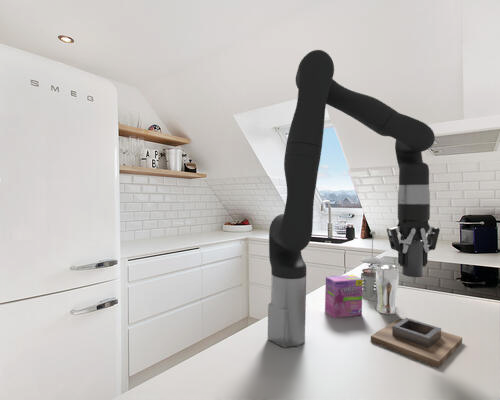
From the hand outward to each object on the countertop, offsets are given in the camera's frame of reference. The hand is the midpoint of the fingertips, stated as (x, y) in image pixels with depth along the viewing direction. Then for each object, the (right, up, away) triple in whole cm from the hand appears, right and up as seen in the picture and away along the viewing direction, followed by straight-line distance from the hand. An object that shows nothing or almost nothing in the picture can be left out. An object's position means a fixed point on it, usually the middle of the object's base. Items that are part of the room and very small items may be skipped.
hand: (412, 265), depth 81 cm
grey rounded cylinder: (0, -2, 0) cm, 2 cm away
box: (-13, -20, +18) cm, 30 cm away
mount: (+1, -20, -1) cm, 20 cm away
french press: (+3, -20, +35) cm, 40 cm away
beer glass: (+2, -20, +21) cm, 29 cm away
